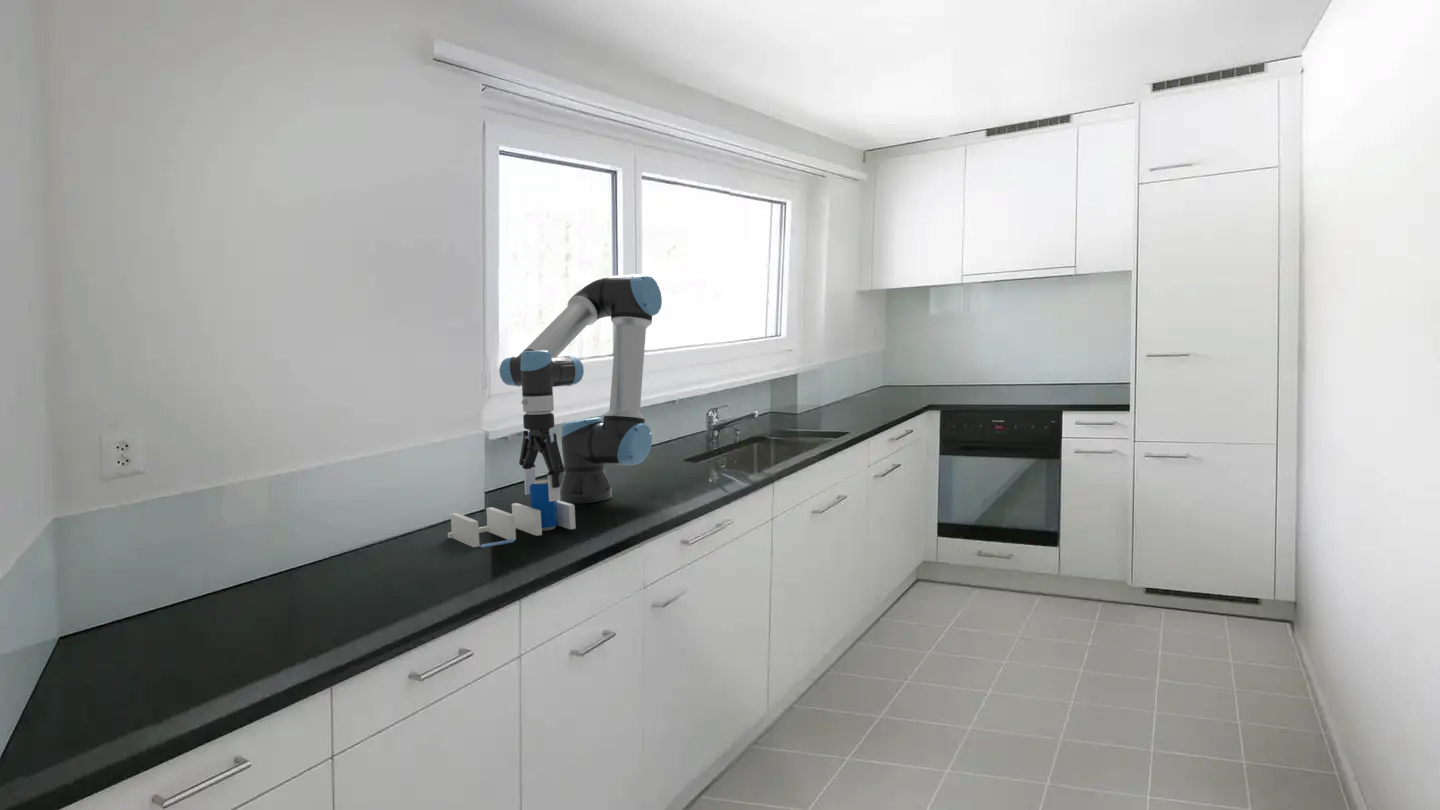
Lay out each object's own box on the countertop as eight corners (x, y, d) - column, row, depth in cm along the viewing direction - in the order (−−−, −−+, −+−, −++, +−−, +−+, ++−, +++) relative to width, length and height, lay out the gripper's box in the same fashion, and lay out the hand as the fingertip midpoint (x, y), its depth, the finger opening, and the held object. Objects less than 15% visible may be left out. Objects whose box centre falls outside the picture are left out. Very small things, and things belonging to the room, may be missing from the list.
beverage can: (552, 531, 240) (550, 483, 238) (528, 531, 241) (525, 483, 240) (562, 525, 246) (559, 478, 245) (538, 525, 247) (535, 479, 246)
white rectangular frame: (551, 519, 254) (550, 496, 253) (578, 528, 242) (576, 504, 242) (448, 537, 237) (446, 513, 237) (470, 547, 226) (469, 522, 225)
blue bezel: (511, 540, 231) (511, 539, 231) (514, 541, 230) (514, 540, 230) (479, 546, 227) (479, 545, 227) (482, 547, 225) (482, 546, 225)
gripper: (503, 411, 248) (507, 493, 250) (547, 416, 228) (551, 505, 230) (530, 409, 253) (534, 489, 255) (575, 414, 233) (579, 501, 234)
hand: (542, 497), depth 242 cm, fingers open, 13 cm apart
